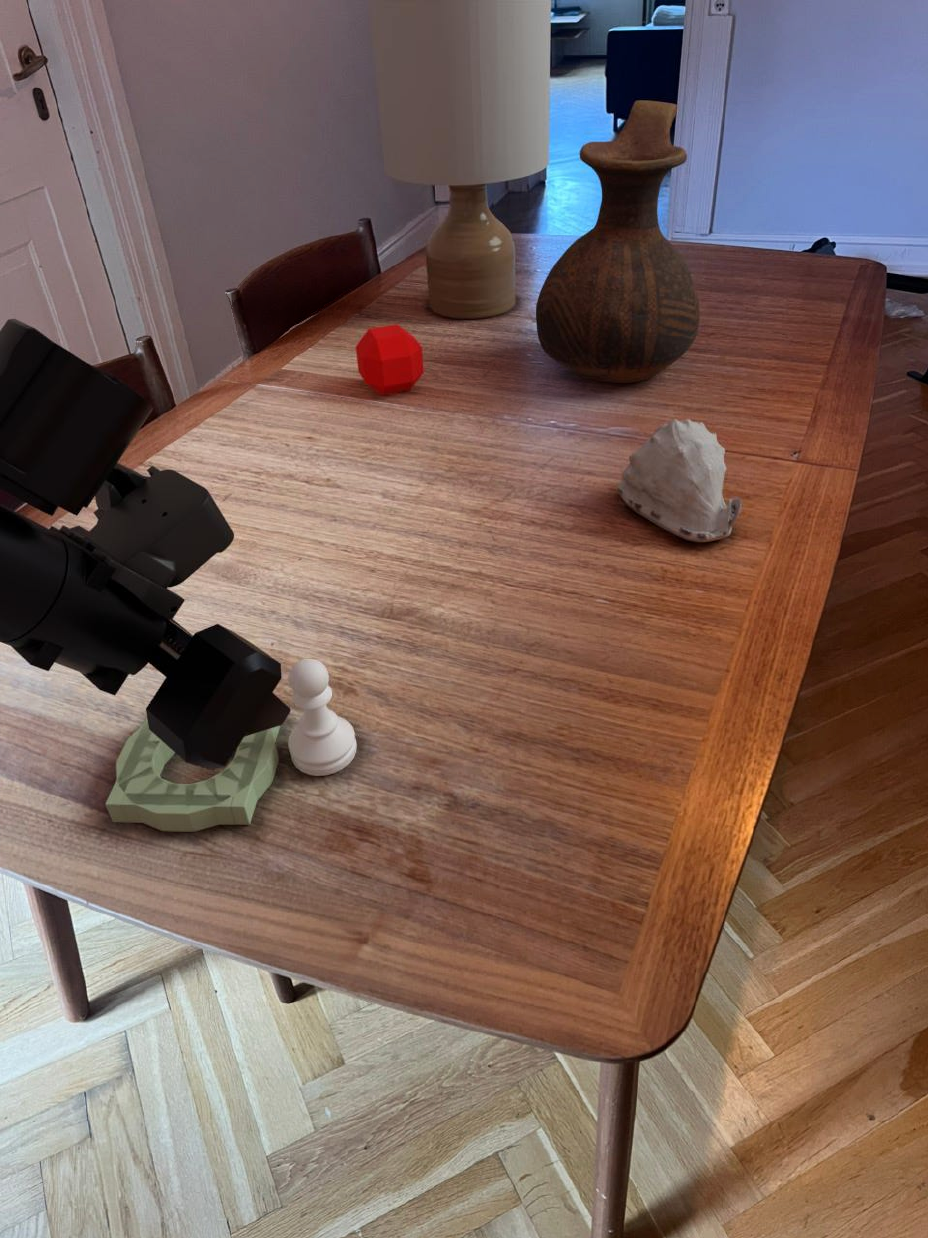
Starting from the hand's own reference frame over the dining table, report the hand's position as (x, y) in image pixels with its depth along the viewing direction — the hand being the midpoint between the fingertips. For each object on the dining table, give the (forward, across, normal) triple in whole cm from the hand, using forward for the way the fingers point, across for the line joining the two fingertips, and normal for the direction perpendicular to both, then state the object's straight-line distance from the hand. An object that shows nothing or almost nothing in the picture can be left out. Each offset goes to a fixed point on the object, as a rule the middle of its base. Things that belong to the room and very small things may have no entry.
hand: (239, 681), depth 54 cm
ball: (+43, +47, -37) cm, 73 cm away
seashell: (+42, 0, -36) cm, 55 cm away
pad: (+10, +8, +8) cm, 15 cm away
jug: (+57, +28, -56) cm, 85 cm away
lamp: (+60, +60, -61) cm, 105 cm away
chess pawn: (+14, +2, +3) cm, 15 cm away
